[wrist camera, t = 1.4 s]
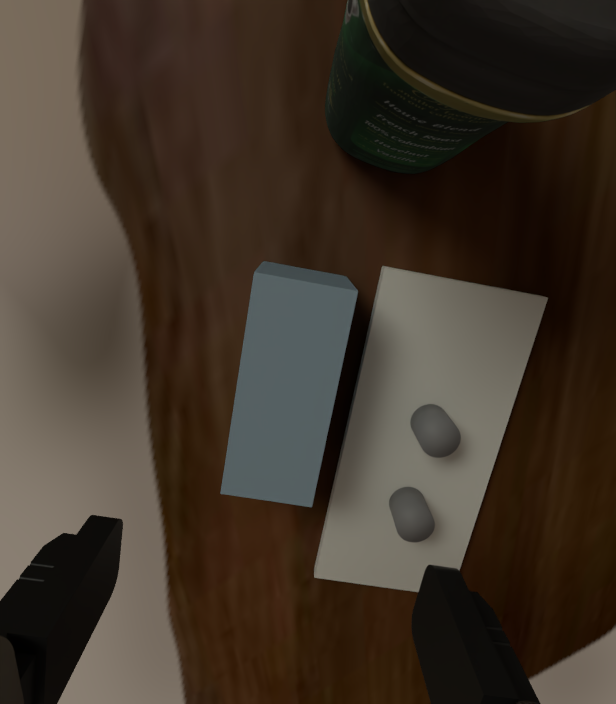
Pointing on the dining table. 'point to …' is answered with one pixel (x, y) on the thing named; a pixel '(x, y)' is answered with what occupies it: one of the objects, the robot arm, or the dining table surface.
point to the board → (390, 387)
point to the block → (287, 382)
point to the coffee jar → (461, 73)
